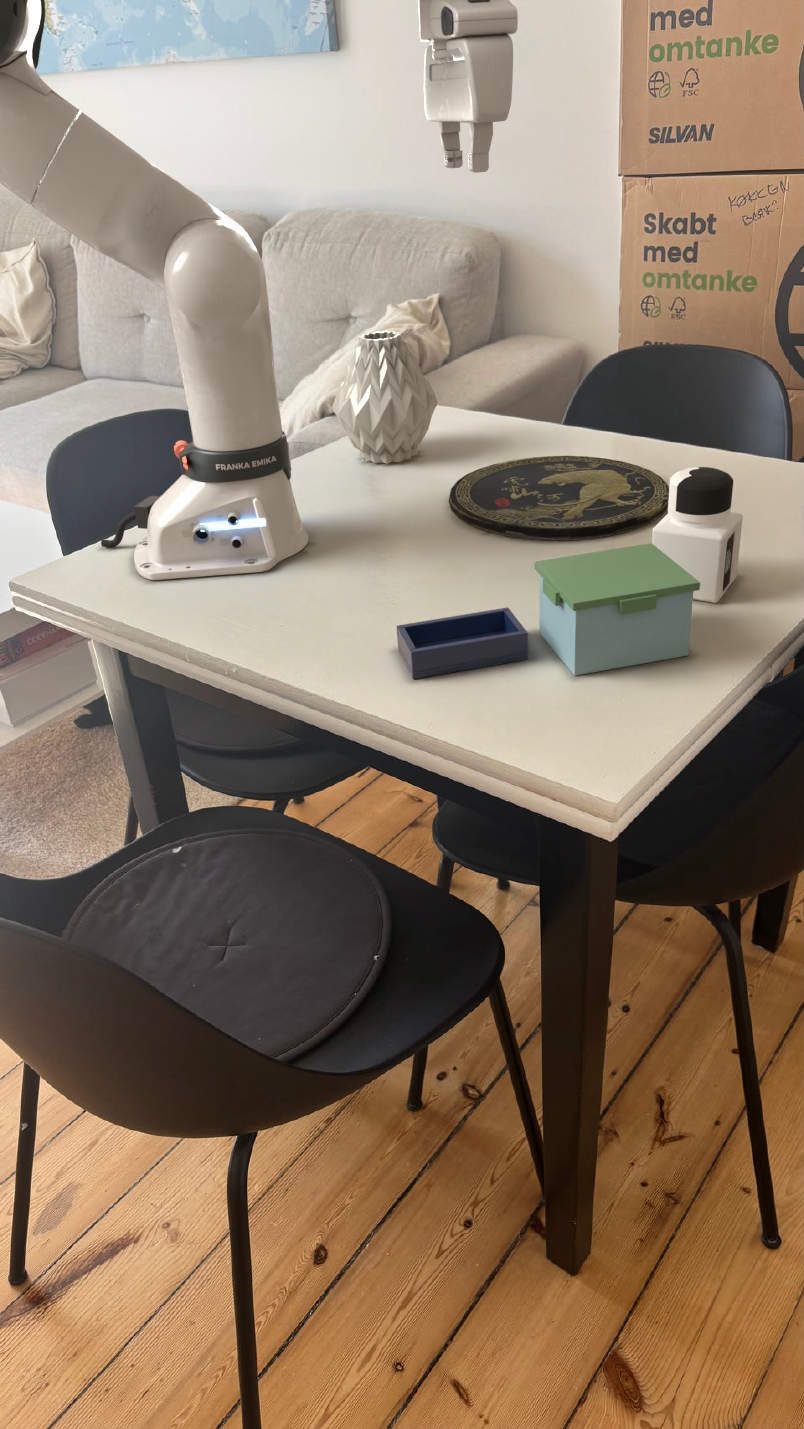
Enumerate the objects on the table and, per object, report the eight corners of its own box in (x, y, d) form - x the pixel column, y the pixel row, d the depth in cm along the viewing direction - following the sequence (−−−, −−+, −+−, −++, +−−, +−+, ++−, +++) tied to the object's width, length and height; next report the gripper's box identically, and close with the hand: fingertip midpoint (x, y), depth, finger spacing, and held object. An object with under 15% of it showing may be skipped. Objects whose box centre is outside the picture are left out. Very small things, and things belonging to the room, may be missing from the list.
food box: (569, 681, 102) (570, 605, 97) (529, 631, 111) (529, 560, 107) (699, 658, 104) (706, 583, 100) (649, 610, 114) (653, 541, 110)
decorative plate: (450, 534, 132) (446, 459, 157) (451, 548, 133) (447, 472, 158) (693, 522, 130) (649, 449, 156) (691, 537, 131) (648, 462, 157)
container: (737, 577, 119) (748, 465, 113) (717, 604, 114) (728, 488, 107) (670, 567, 123) (677, 458, 116) (648, 593, 117) (654, 480, 111)
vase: (323, 453, 171) (311, 334, 162) (415, 435, 176) (408, 319, 167) (360, 480, 158) (349, 353, 149) (458, 460, 163) (453, 336, 154)
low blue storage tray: (412, 679, 104) (411, 652, 102) (398, 651, 109) (396, 625, 108) (528, 659, 106) (528, 632, 104) (508, 632, 111) (508, 607, 110)
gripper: (407, 27, 117) (414, 168, 124) (460, 13, 99) (464, 177, 106) (462, 24, 118) (465, 163, 125) (524, 9, 100) (524, 172, 107)
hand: (465, 170), depth 115 cm, fingers open, 8 cm apart
